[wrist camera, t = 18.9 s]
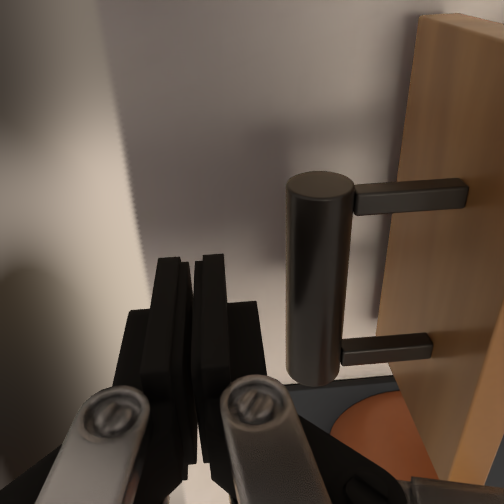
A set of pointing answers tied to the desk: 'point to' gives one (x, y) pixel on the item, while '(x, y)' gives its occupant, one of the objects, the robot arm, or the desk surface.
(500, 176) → the drawer
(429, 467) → the pen holder
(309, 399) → the desk mat
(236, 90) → the desk surface
